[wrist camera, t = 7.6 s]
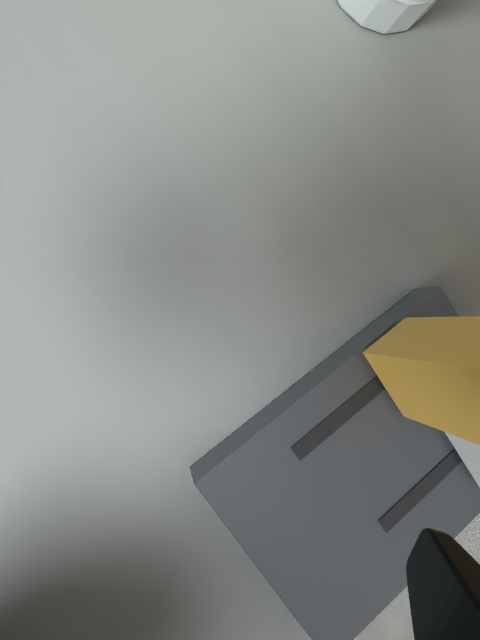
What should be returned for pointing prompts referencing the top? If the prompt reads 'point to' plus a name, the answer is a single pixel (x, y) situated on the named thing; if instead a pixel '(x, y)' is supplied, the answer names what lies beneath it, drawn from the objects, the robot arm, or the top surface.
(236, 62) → the top surface
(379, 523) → the grey slotted board
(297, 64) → the top surface
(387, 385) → the amber slider
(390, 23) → the white cup
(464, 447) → the grey slider
